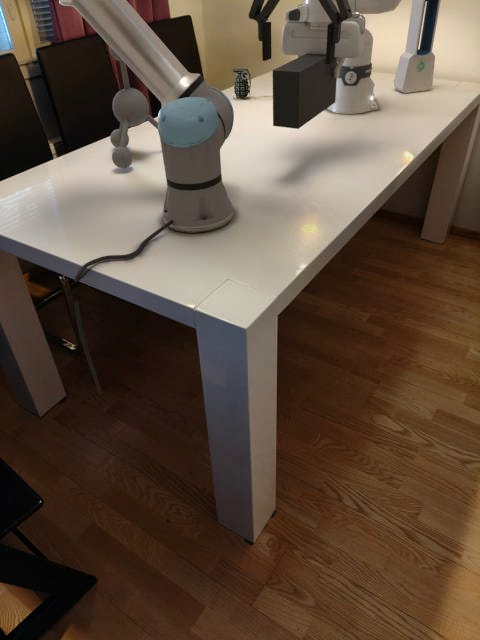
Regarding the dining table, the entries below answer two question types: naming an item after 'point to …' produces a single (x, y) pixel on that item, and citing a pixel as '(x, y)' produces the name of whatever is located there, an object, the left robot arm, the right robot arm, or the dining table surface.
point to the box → (302, 90)
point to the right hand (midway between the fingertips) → (320, 76)
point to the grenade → (242, 83)
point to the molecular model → (127, 116)
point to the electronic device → (419, 63)
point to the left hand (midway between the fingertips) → (297, 61)
